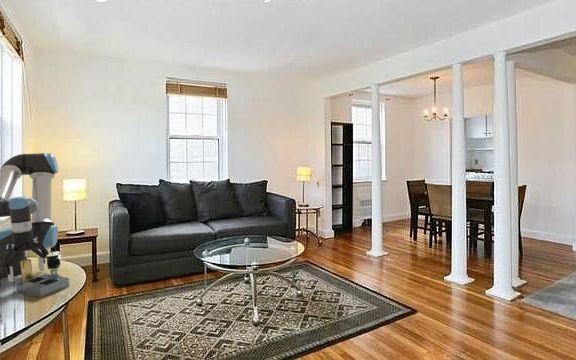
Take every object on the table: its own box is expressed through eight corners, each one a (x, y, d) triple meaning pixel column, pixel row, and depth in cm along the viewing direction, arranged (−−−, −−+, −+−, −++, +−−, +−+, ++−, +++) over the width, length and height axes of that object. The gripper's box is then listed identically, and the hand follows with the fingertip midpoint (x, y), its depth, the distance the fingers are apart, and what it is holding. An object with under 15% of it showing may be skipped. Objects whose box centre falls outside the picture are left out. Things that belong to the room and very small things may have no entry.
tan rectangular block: (21, 286, 166) (18, 261, 165) (30, 283, 170) (27, 258, 169) (26, 287, 165) (23, 262, 163) (35, 284, 168) (32, 259, 167)
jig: (16, 293, 159) (15, 284, 158) (46, 282, 171) (45, 274, 170) (40, 297, 153) (39, 288, 152) (69, 286, 165) (68, 277, 164)
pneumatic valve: (48, 279, 174) (45, 255, 173) (50, 272, 184) (48, 249, 183) (61, 277, 177) (59, 253, 175) (63, 270, 187) (61, 247, 186)
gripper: (-4, 237, 152) (2, 286, 154) (54, 225, 175) (58, 267, 177) (-15, 236, 155) (-9, 284, 156) (44, 224, 178) (48, 266, 179)
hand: (27, 275), depth 166 cm, fingers open, 13 cm apart
